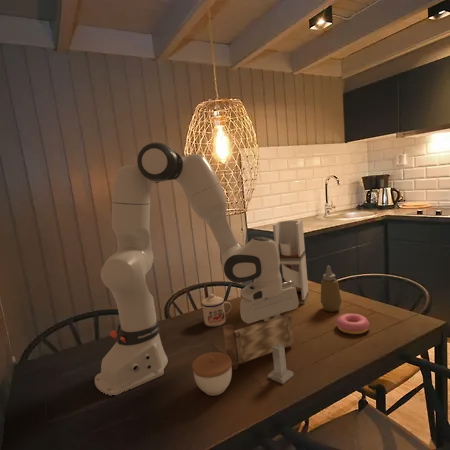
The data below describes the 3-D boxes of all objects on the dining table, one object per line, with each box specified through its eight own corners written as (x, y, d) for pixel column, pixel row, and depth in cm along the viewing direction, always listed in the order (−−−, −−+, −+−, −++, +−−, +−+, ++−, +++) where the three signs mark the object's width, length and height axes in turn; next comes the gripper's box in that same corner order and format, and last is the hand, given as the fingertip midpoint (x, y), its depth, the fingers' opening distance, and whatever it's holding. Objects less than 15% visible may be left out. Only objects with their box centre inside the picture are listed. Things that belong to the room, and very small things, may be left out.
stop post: (283, 384, 87) (280, 353, 86) (268, 377, 91) (265, 347, 89) (293, 375, 90) (290, 345, 89) (279, 369, 94) (276, 340, 93)
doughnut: (354, 319, 120) (353, 308, 119) (377, 331, 110) (376, 319, 109) (329, 326, 116) (329, 315, 116) (351, 339, 106) (350, 327, 106)
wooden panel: (238, 363, 97) (235, 333, 96) (236, 361, 99) (233, 331, 98) (293, 344, 105) (291, 315, 104) (290, 342, 107) (288, 313, 105)
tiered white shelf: (285, 294, 153) (279, 221, 148) (308, 294, 149) (302, 219, 144) (280, 303, 143) (272, 225, 138) (304, 304, 138) (297, 223, 134)
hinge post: (232, 371, 95) (227, 330, 94) (225, 368, 98) (220, 327, 96) (239, 366, 98) (235, 326, 96) (232, 363, 100) (228, 323, 98)
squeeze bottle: (317, 308, 133) (313, 265, 131) (333, 303, 135) (330, 262, 133) (329, 315, 126) (325, 270, 123) (346, 310, 128) (343, 266, 125)
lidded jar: (187, 392, 88) (183, 360, 87) (214, 372, 96) (210, 342, 95) (215, 407, 81) (211, 372, 80) (242, 384, 89) (238, 352, 88)
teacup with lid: (207, 329, 125) (203, 300, 124) (201, 320, 134) (198, 293, 132) (236, 321, 129) (233, 293, 127) (228, 313, 138) (225, 287, 136)
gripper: (289, 277, 110) (292, 315, 112) (235, 291, 102) (240, 333, 103) (300, 281, 104) (304, 322, 106) (245, 297, 96) (250, 341, 98)
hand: (272, 327), depth 105 cm, fingers closed
